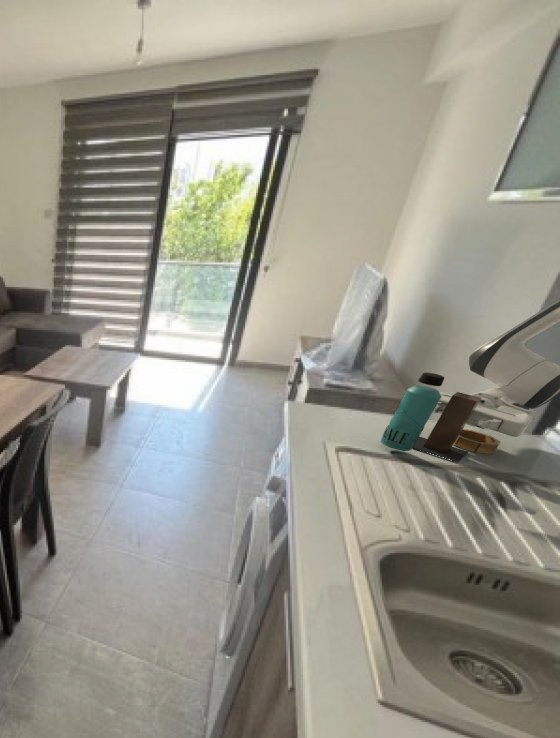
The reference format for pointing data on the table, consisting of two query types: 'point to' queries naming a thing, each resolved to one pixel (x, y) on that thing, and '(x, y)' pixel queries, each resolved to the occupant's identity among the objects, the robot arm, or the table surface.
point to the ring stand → (476, 442)
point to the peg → (451, 422)
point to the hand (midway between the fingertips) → (456, 416)
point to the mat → (452, 454)
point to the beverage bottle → (413, 413)
